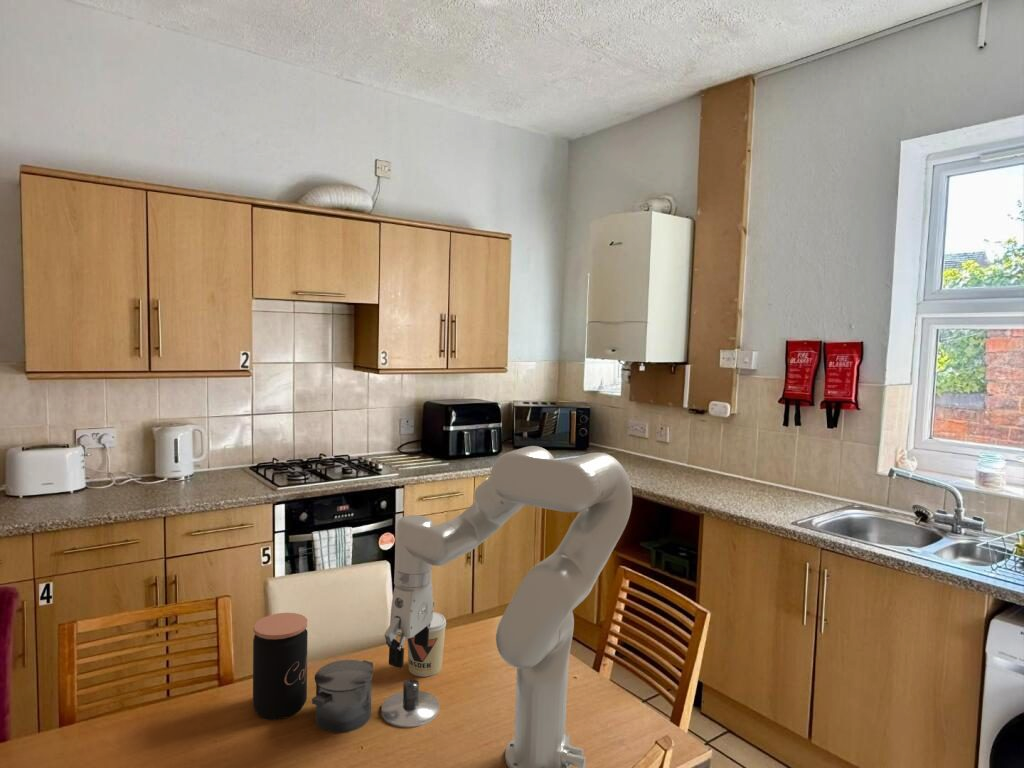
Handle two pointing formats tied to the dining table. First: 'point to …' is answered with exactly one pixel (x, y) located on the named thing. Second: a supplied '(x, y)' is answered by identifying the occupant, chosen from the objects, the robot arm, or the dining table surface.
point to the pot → (343, 695)
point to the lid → (410, 706)
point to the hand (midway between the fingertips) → (408, 655)
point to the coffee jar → (280, 665)
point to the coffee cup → (428, 649)
